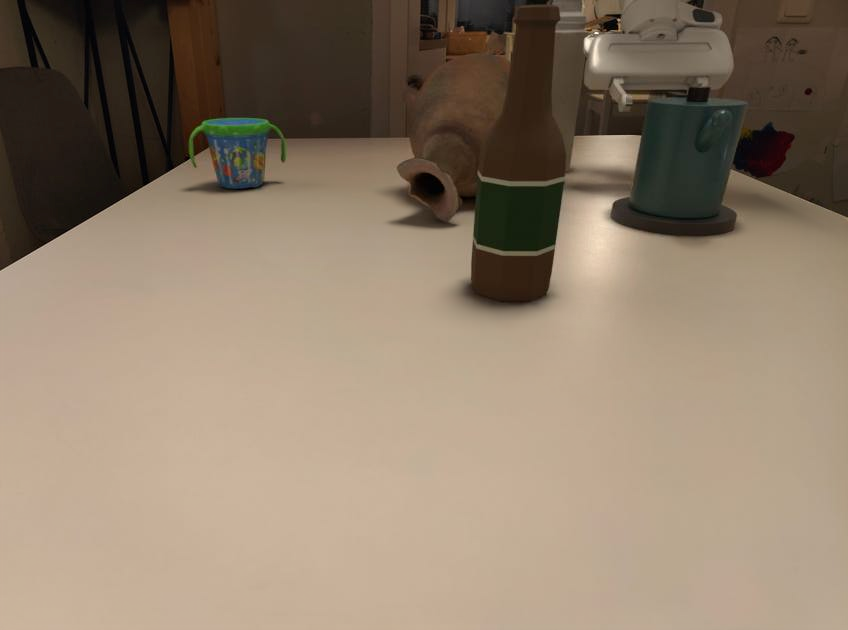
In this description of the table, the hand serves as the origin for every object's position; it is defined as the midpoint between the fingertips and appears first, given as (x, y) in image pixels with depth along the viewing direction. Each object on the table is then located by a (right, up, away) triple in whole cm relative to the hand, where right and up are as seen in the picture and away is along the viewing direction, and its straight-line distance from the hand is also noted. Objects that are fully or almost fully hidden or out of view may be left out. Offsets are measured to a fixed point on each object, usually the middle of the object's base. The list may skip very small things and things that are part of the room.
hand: (659, 108), depth 88 cm
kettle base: (-2, -17, -7) cm, 19 cm away
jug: (-28, -12, +4) cm, 31 cm away
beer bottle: (-28, -29, -28) cm, 49 cm away
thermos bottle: (-9, -1, +25) cm, 26 cm away
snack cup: (-63, -7, +15) cm, 65 cm away
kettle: (-2, -16, -7) cm, 18 cm away
